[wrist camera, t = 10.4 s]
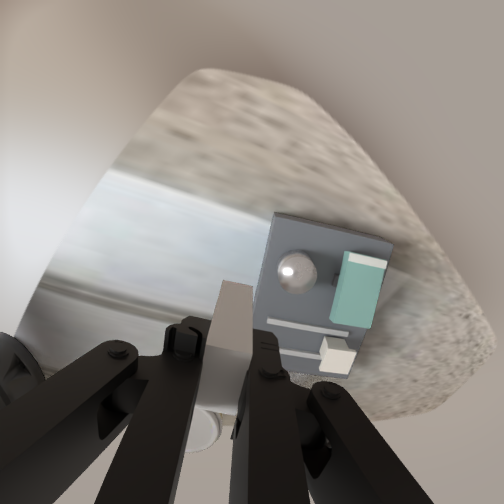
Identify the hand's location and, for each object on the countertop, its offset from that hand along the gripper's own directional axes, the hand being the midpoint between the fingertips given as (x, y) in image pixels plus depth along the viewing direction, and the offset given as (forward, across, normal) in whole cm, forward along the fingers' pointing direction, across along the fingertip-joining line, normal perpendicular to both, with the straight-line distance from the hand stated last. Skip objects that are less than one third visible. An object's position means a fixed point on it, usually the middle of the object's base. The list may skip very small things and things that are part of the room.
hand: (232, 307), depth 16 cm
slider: (+16, +12, -9) cm, 22 cm away
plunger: (+16, +6, -1) cm, 17 cm away
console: (+21, +9, -5) cm, 23 cm away
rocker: (+14, +12, -2) cm, 19 cm away
